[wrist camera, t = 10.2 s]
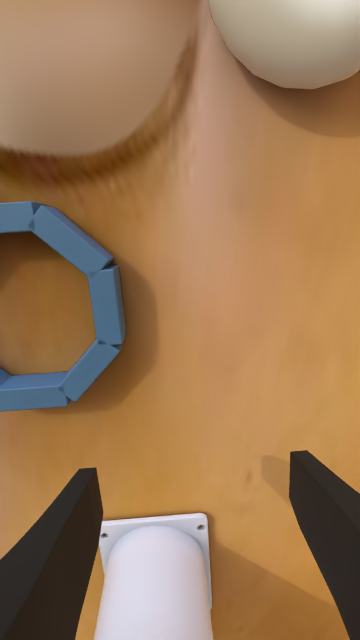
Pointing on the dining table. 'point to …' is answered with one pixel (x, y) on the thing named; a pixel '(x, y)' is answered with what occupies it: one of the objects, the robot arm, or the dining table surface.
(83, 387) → the ring
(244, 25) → the donut
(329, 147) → the dining table surface
